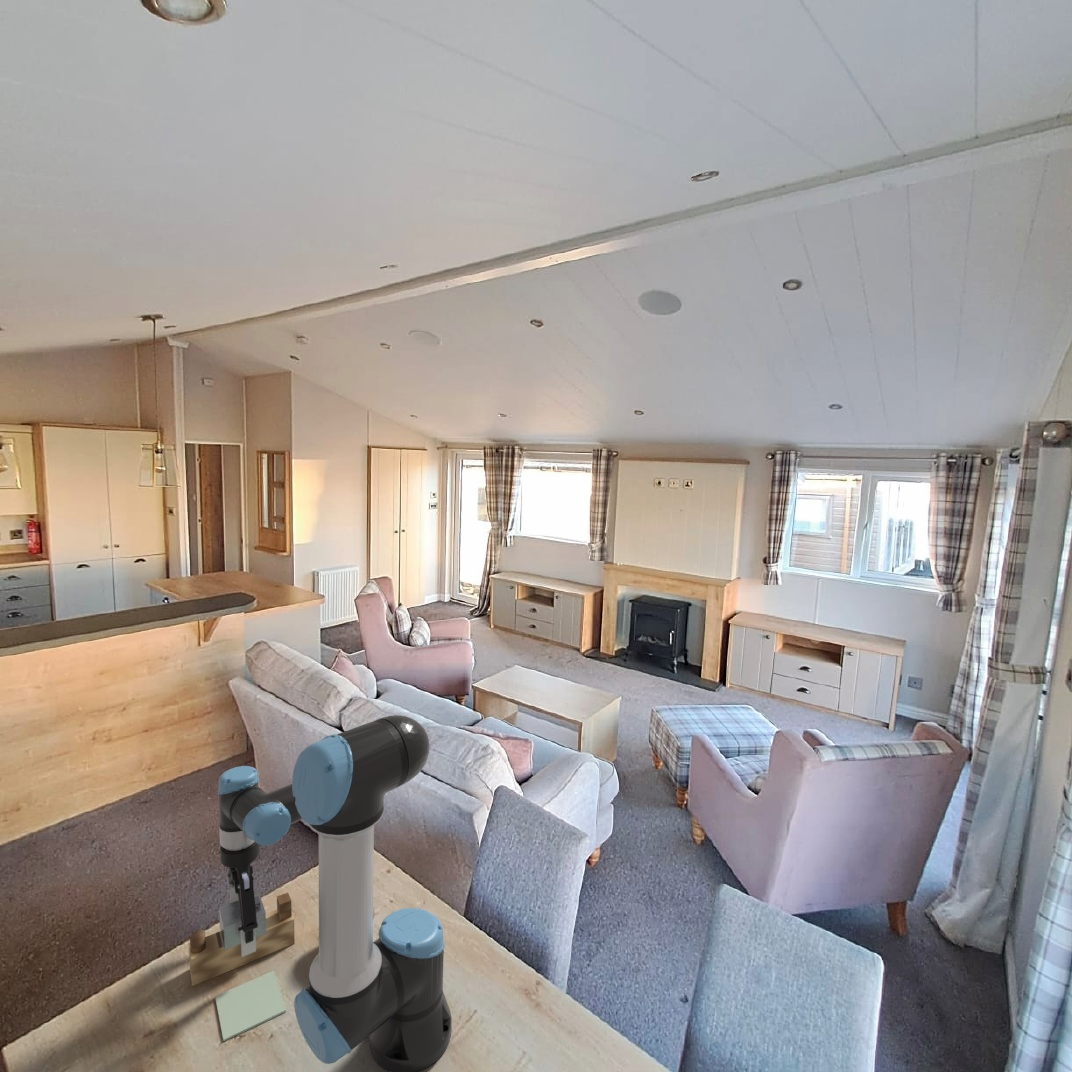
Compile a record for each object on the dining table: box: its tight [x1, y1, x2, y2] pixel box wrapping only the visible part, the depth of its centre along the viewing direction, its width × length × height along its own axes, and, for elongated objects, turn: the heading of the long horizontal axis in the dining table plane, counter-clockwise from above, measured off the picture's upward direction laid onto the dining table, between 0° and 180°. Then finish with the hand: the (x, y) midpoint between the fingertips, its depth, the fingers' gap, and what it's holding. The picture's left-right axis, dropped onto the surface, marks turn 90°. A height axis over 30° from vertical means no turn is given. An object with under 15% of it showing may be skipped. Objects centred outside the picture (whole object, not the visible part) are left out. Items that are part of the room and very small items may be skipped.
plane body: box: [188, 892, 296, 987], centre depth 129 cm, size 20×5×10 cm, turn 125°
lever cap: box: [218, 892, 267, 950], centre depth 128 cm, size 7×8×6 cm
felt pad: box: [214, 970, 287, 1042], centre depth 118 cm, size 11×11×1 cm
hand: (242, 931), depth 129 cm, fingers open, 13 cm apart
